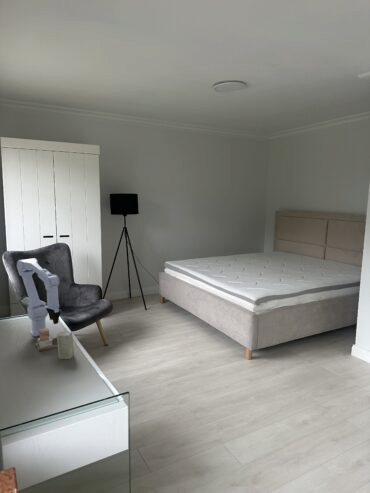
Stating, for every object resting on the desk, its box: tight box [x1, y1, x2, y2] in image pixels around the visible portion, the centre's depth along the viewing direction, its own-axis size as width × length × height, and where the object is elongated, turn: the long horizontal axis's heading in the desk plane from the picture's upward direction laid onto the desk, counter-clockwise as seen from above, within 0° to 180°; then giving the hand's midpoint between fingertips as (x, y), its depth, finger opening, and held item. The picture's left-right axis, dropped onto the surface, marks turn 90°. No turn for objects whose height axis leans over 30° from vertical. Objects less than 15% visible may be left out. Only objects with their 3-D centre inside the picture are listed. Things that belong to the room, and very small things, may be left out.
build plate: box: [34, 335, 58, 352], centre depth 181 cm, size 10×11×4 cm
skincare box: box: [56, 331, 75, 360], centre depth 167 cm, size 6×4×12 cm
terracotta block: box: [39, 327, 50, 341], centre depth 179 cm, size 4×4×5 cm
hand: (54, 321), depth 187 cm, fingers open, 7 cm apart
